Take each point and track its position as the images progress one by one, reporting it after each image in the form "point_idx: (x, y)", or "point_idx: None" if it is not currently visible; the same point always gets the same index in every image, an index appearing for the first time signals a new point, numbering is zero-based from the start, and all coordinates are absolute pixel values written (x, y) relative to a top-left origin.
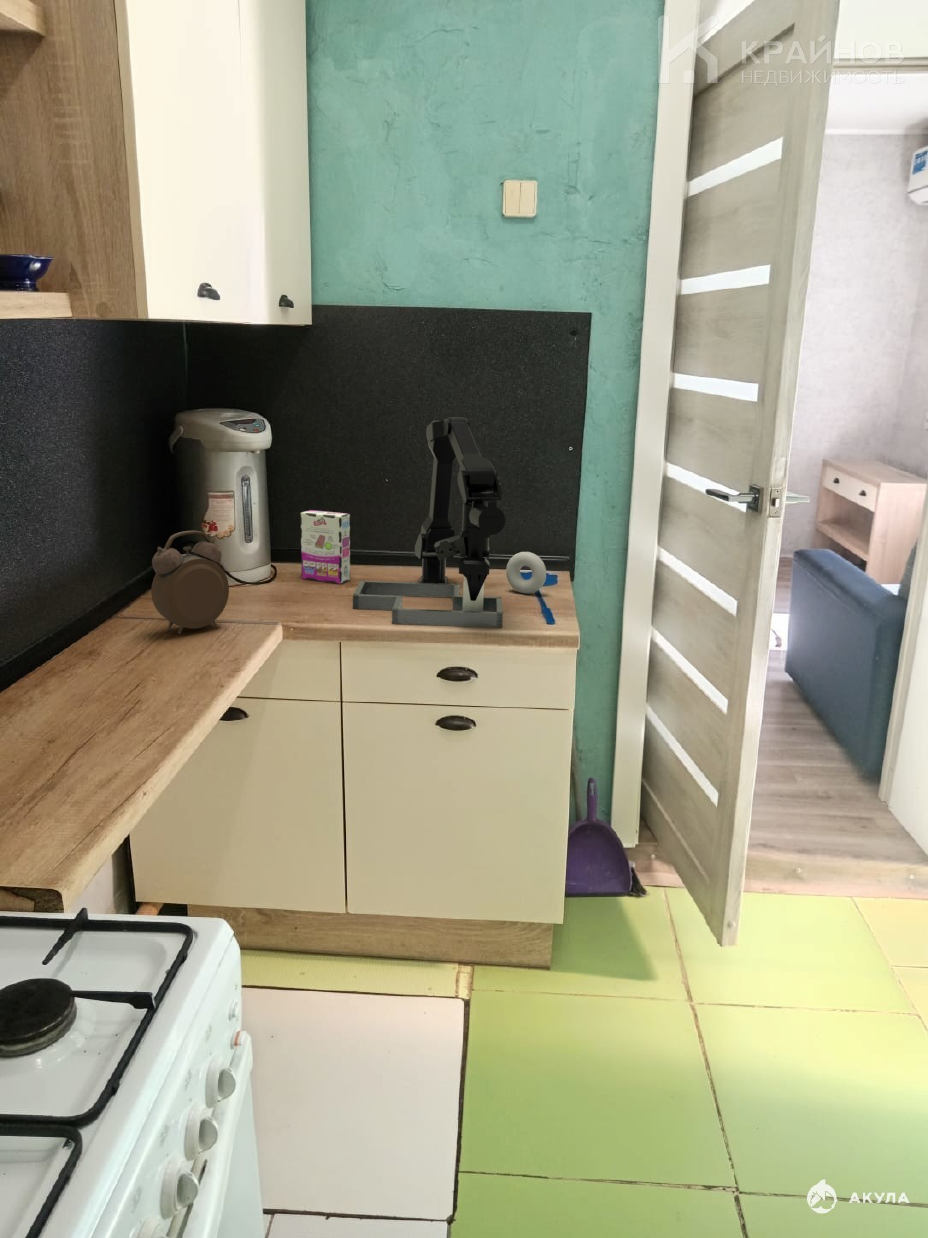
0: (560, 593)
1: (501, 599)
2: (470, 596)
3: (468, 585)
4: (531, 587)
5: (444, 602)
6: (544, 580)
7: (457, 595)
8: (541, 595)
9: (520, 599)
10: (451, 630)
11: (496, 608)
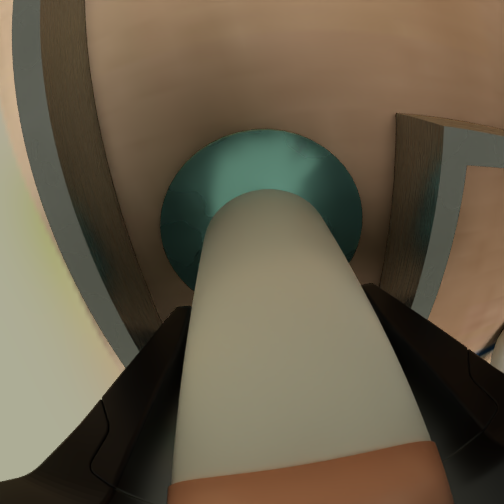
0: None
1: None
2: (161, 330)
3: (92, 412)
4: (497, 358)
5: (490, 86)
6: None
7: (464, 157)
8: (483, 355)
9: (475, 331)
10: (28, 177)
11: None
